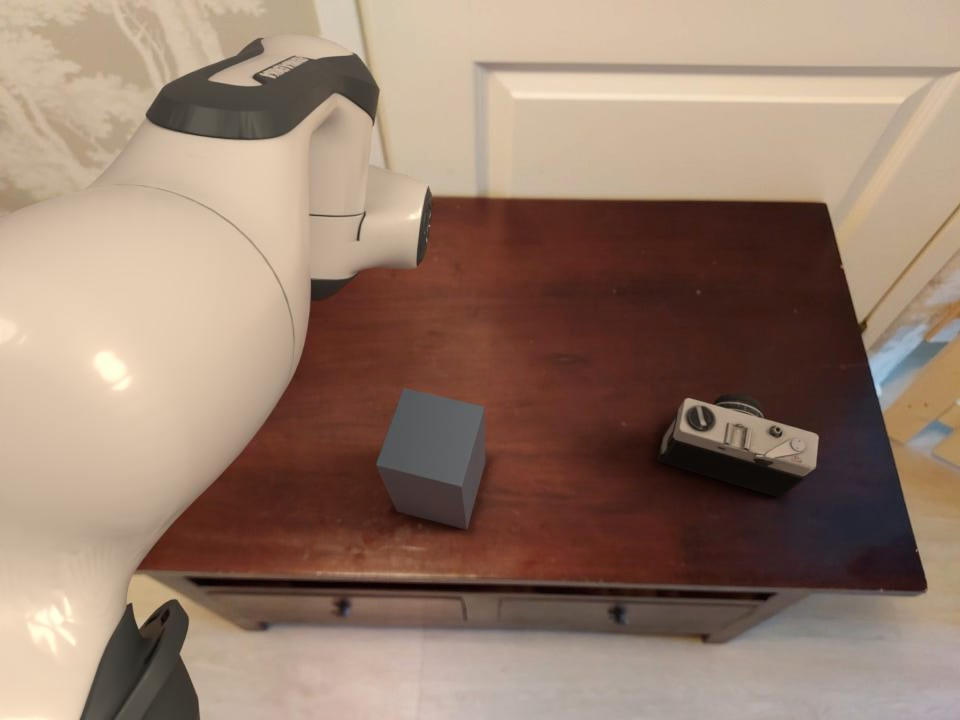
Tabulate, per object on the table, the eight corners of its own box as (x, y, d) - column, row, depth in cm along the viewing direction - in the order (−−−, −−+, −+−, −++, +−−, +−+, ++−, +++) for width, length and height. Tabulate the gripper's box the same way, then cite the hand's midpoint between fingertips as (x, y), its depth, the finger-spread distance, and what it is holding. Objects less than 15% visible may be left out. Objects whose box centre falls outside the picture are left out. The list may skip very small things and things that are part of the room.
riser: (467, 530, 71) (461, 486, 57) (396, 511, 72) (375, 464, 59) (485, 461, 74) (484, 406, 61) (418, 445, 75) (403, 387, 62)
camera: (795, 441, 75) (834, 407, 66) (775, 513, 71) (813, 487, 62) (678, 394, 78) (700, 356, 69) (652, 460, 74) (672, 429, 65)
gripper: (294, 89, 61) (161, 65, 63) (194, 260, 51) (40, 227, 53) (311, 141, 66) (187, 118, 68) (223, 304, 57) (82, 273, 59)
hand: (122, 167), depth 61 cm, fingers open, 8 cm apart
